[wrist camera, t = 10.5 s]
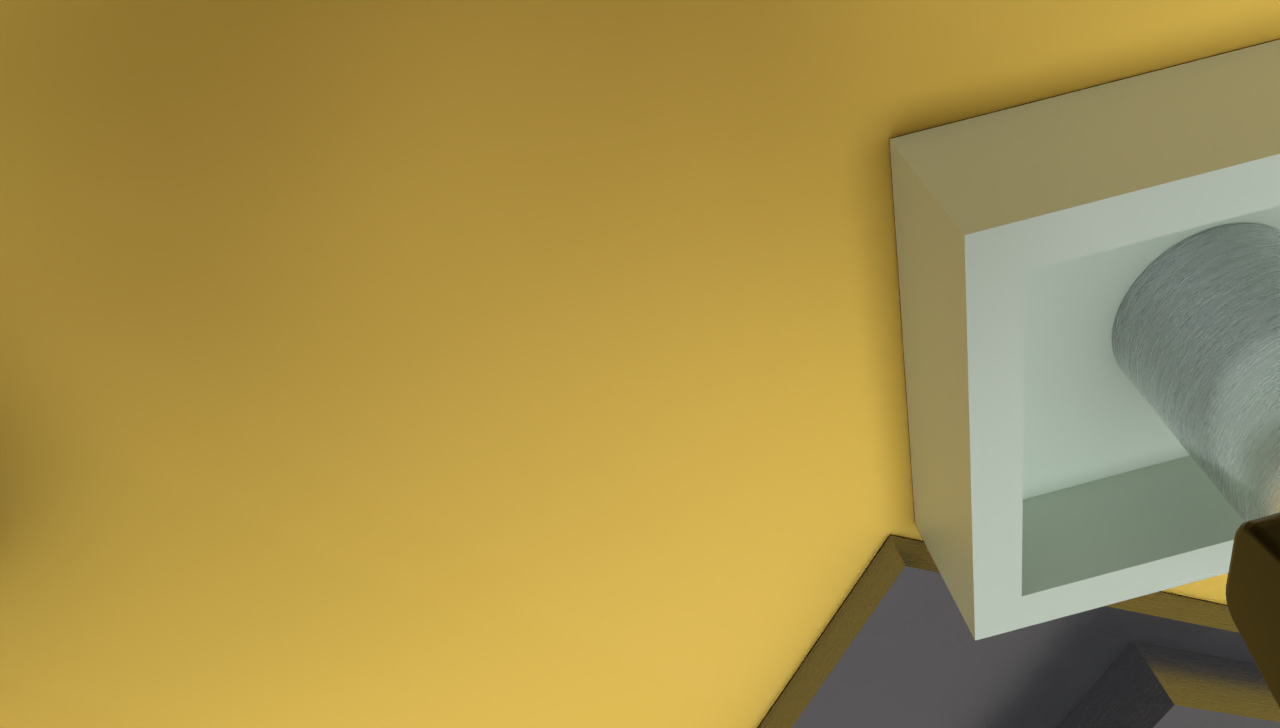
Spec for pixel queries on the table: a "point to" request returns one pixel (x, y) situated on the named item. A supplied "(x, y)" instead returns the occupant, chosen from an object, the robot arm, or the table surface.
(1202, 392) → the pin
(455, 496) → the table surface
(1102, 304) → the tray
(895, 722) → the grey slab
